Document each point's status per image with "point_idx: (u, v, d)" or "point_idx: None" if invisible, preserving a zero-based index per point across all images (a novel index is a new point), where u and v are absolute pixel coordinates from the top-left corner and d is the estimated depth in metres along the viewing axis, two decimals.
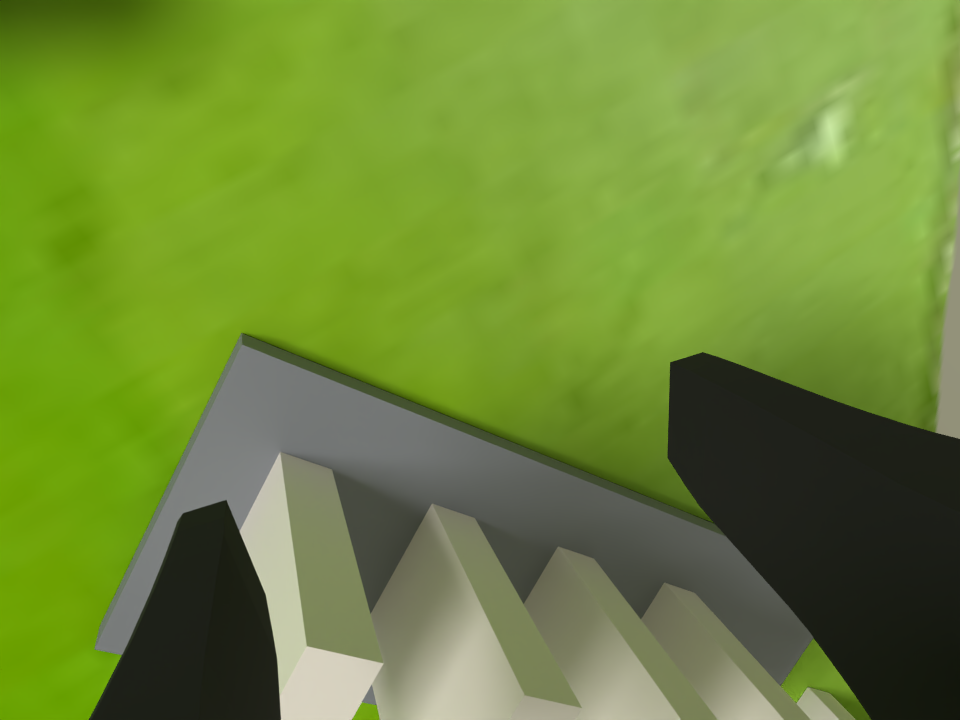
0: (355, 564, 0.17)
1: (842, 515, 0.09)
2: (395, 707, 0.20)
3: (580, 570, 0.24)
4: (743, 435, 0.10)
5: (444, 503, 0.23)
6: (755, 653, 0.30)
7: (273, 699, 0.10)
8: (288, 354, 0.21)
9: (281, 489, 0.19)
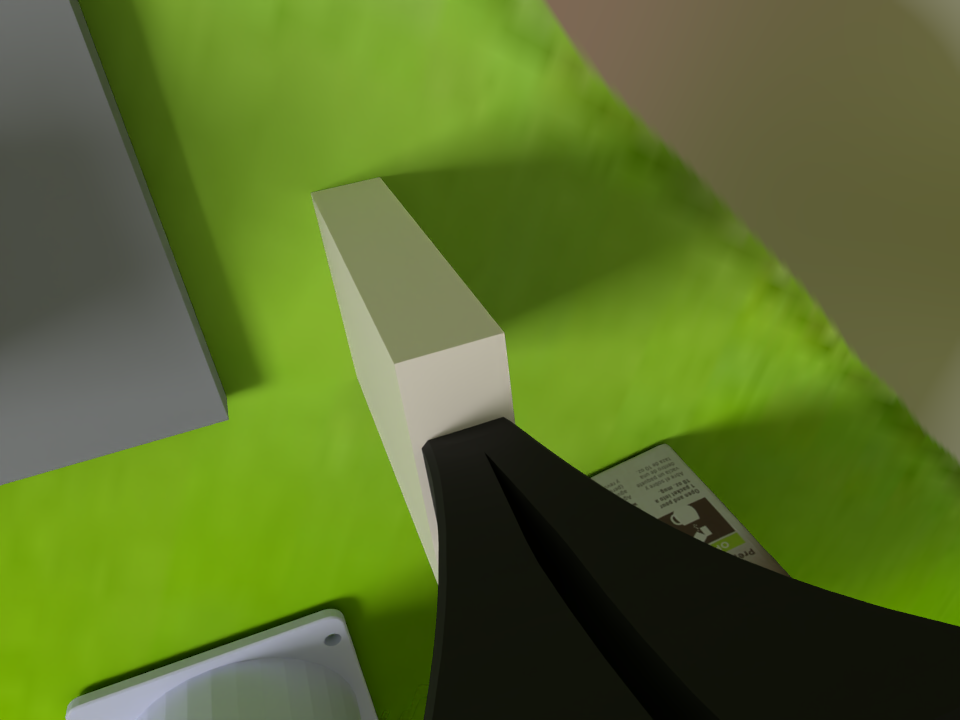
0: None
1: (582, 614, 0.08)
2: None
3: None
4: (513, 514, 0.10)
5: None
6: None
7: None
8: None
9: None
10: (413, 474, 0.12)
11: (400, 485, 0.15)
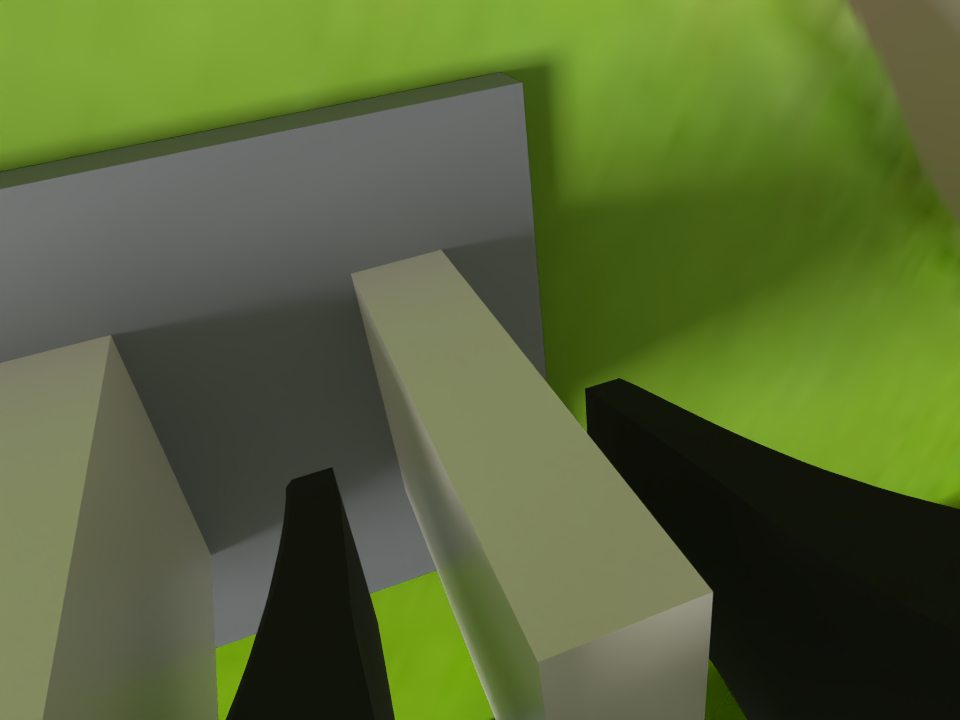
0: None
1: (736, 555, 0.09)
2: None
3: None
4: (649, 467, 0.10)
5: None
6: None
7: (382, 659, 0.10)
8: None
9: None
10: None
11: (483, 686, 0.11)
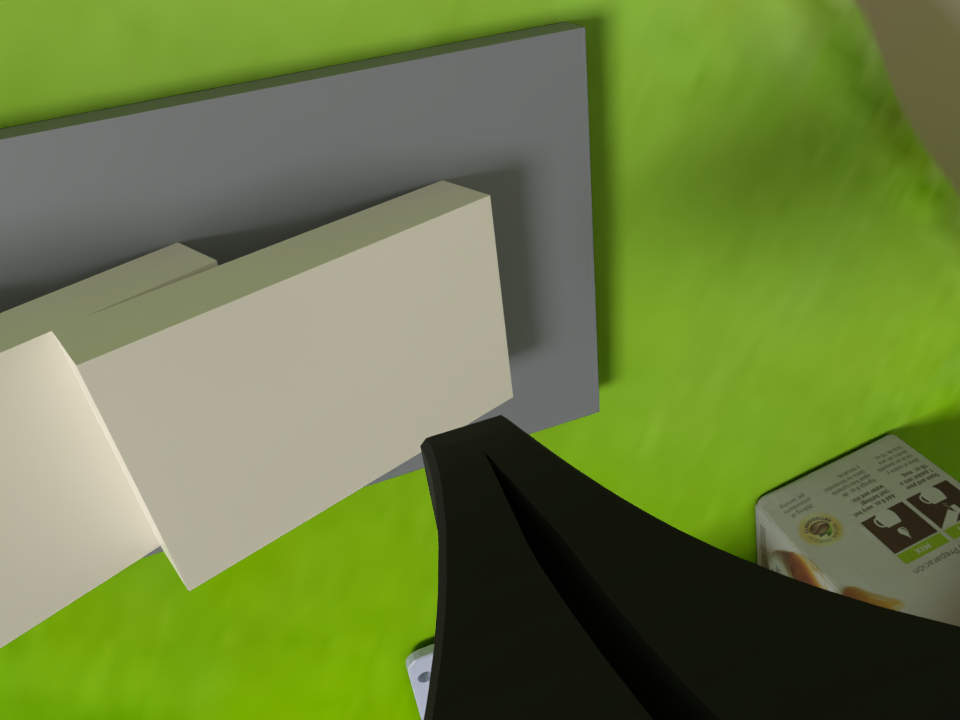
0: None
1: (582, 615, 0.08)
2: None
3: None
4: (513, 514, 0.10)
5: None
6: (495, 239, 0.17)
7: None
8: None
9: None
10: None
11: None
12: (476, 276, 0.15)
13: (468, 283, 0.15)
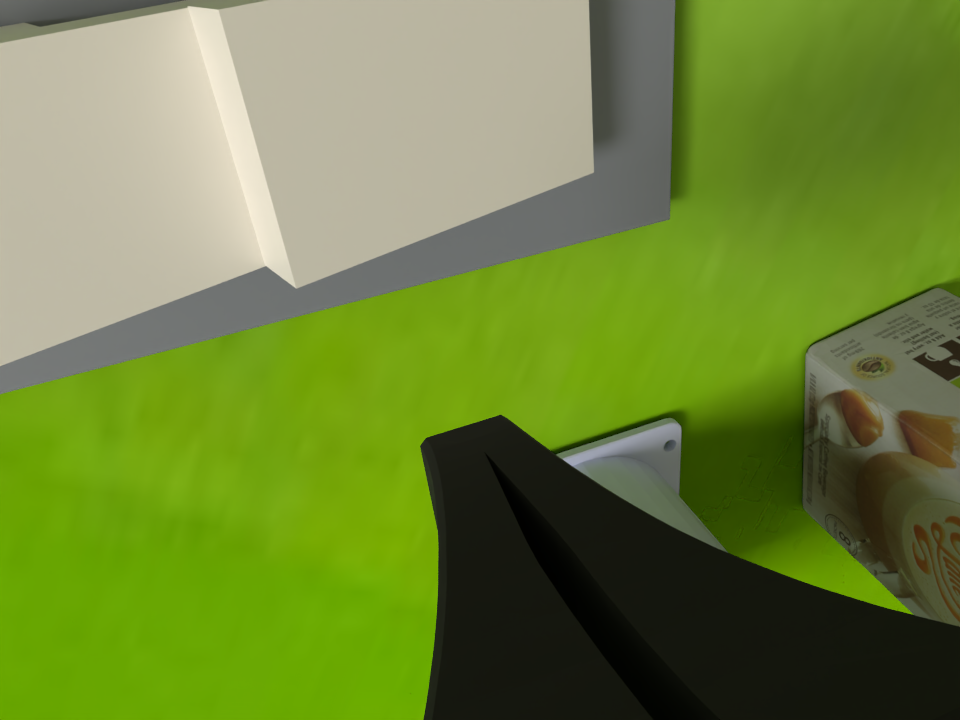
0: None
1: (582, 615, 0.08)
2: None
3: None
4: (513, 514, 0.10)
5: None
6: None
7: None
8: None
9: None
10: None
11: None
12: (569, 26, 0.16)
13: (561, 31, 0.16)
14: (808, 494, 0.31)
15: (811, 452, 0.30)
